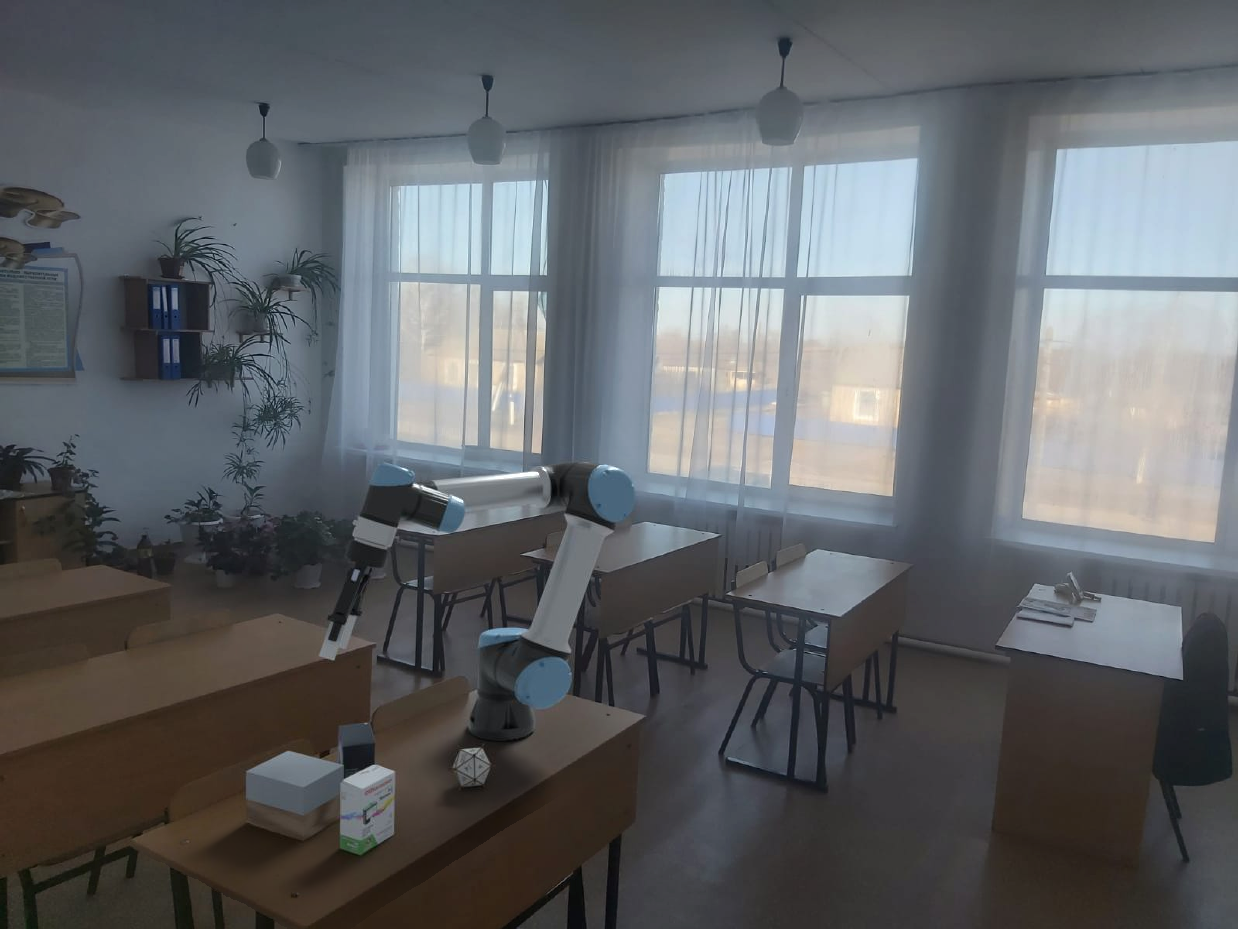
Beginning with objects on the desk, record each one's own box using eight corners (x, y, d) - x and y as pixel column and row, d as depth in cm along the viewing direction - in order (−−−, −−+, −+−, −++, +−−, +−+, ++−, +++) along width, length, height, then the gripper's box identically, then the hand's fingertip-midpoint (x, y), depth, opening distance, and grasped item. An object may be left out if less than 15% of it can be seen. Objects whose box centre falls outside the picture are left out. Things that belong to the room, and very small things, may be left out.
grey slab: (288, 776, 166) (288, 750, 166) (343, 792, 161) (343, 765, 160) (246, 798, 157) (246, 771, 156) (303, 815, 152) (303, 787, 151)
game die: (476, 808, 174) (482, 782, 168) (438, 788, 175) (443, 762, 169) (498, 771, 181) (505, 745, 174) (461, 752, 182) (467, 725, 176)
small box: (336, 775, 178) (336, 724, 177) (369, 771, 180) (370, 721, 179) (340, 799, 168) (341, 745, 167) (376, 794, 170) (377, 741, 169)
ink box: (360, 856, 148) (361, 788, 147) (338, 848, 150) (339, 781, 149) (395, 834, 156) (396, 769, 155) (373, 827, 158) (374, 763, 157)
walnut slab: (288, 802, 167) (288, 776, 166) (343, 818, 161) (343, 791, 161) (246, 825, 157) (246, 798, 157) (303, 843, 152) (303, 815, 152)
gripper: (360, 536, 180) (324, 637, 178) (340, 539, 156) (299, 657, 154) (396, 547, 181) (361, 648, 179) (382, 552, 157) (342, 669, 155)
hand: (332, 652), depth 166 cm, fingers open, 13 cm apart
